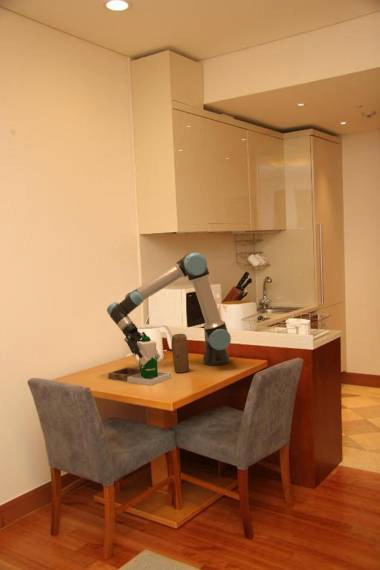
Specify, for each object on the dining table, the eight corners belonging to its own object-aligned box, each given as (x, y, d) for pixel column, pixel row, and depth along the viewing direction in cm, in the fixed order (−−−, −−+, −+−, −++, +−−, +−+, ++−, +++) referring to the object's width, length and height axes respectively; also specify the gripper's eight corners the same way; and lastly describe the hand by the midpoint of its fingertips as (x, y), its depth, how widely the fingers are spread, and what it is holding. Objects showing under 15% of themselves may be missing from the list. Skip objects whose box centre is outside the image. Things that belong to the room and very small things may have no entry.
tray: (171, 377, 280) (171, 372, 280) (151, 385, 267) (150, 380, 267) (148, 374, 290) (147, 370, 290) (127, 382, 277) (127, 377, 277)
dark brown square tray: (146, 375, 289) (145, 369, 289) (128, 381, 278) (127, 375, 278) (127, 372, 298) (126, 367, 297) (108, 378, 286) (108, 373, 286)
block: (190, 372, 290) (187, 335, 288) (176, 374, 288) (174, 336, 286) (185, 368, 300) (183, 332, 299) (172, 369, 298) (169, 333, 297)
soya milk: (154, 373, 284) (152, 335, 283) (160, 376, 276) (157, 338, 274) (138, 375, 281) (135, 337, 279) (143, 379, 273) (141, 340, 271)
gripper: (138, 328, 295) (162, 360, 286) (109, 335, 277) (135, 369, 269) (145, 319, 291) (170, 350, 283) (116, 326, 274) (142, 359, 265)
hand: (153, 359), depth 276 cm, fingers closed on soya milk, 9 cm apart
